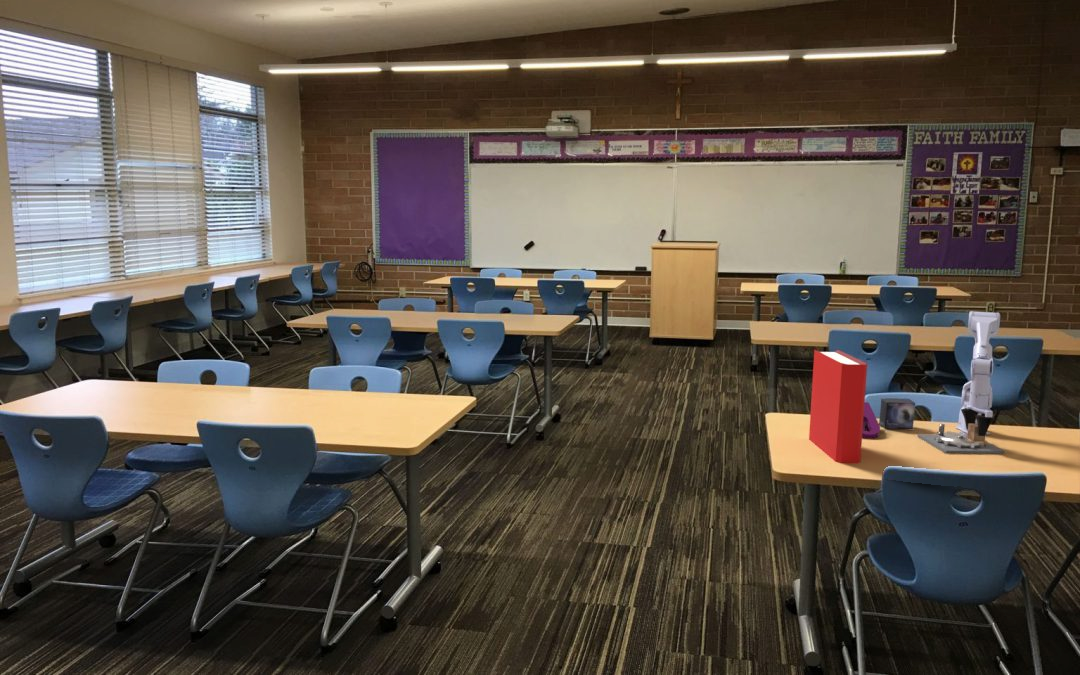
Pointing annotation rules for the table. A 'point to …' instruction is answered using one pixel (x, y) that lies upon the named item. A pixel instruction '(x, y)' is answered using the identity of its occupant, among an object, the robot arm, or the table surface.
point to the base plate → (963, 450)
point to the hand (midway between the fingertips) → (975, 432)
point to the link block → (974, 433)
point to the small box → (897, 413)
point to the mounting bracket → (870, 423)
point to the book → (838, 405)
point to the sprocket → (956, 439)
